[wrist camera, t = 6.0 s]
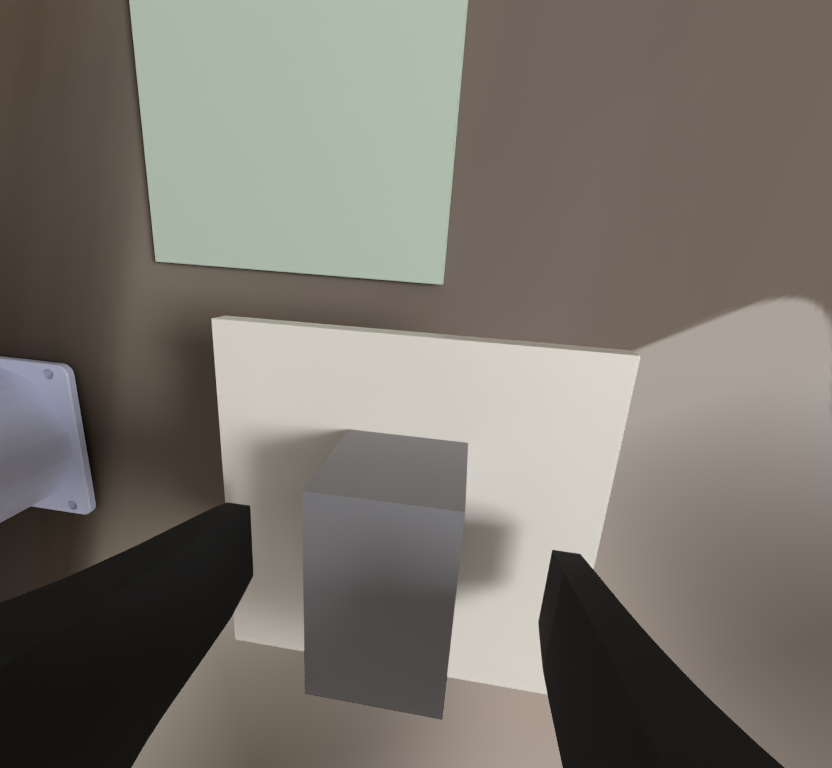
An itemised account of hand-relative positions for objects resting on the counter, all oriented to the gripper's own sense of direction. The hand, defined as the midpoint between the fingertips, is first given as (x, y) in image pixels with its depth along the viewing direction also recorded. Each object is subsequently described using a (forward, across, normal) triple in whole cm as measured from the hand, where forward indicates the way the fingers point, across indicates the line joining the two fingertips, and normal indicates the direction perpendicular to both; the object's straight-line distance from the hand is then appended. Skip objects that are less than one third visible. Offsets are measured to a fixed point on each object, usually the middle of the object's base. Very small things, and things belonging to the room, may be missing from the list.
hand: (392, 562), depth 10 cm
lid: (+2, 0, 0) cm, 2 cm away
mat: (+9, +6, -12) cm, 16 cm away
